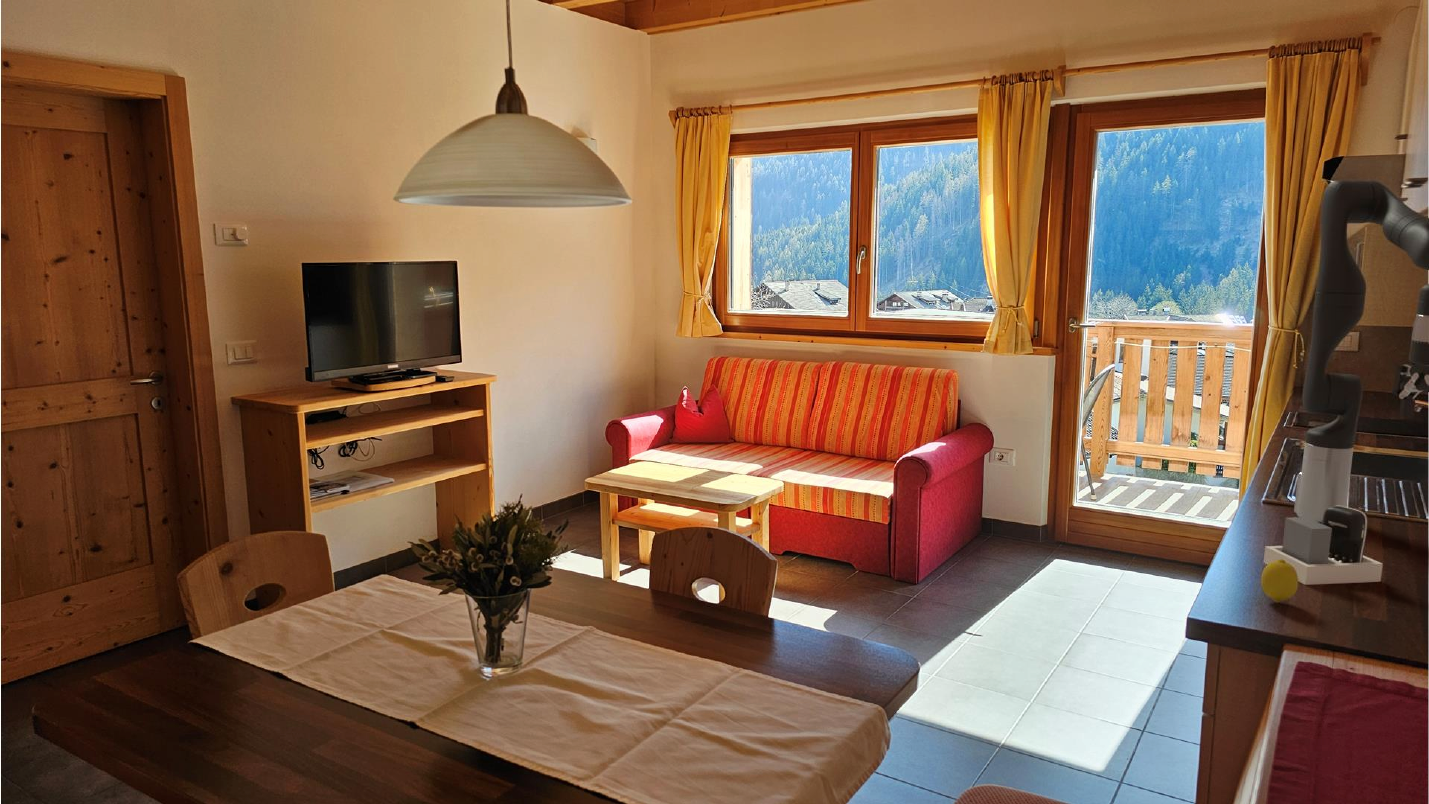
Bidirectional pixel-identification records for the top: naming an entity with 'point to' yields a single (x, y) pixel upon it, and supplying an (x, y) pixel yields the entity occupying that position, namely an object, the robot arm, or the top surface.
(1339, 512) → the battery charger
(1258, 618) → the top surface
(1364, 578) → the dock
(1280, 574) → the lemon
